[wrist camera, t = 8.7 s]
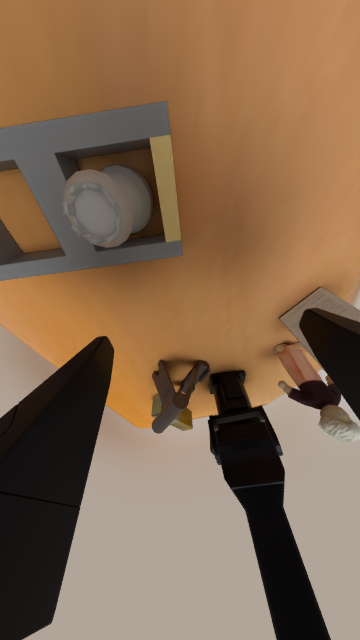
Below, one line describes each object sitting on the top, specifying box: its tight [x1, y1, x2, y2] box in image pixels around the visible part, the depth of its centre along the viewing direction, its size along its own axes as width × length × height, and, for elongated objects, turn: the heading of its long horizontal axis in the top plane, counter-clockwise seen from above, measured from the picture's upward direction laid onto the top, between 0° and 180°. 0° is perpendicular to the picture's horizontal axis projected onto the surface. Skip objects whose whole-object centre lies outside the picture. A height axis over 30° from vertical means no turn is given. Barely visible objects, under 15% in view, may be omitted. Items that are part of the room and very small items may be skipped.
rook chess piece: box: [62, 164, 154, 248], centre depth 11 cm, size 4×4×8 cm
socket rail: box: [0, 101, 183, 281], centre depth 13 cm, size 8×16×3 cm, turn 97°
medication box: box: [152, 394, 193, 431], centre depth 36 cm, size 12×3×4 cm, turn 33°
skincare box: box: [280, 287, 360, 371], centre depth 17 cm, size 6×4×12 cm
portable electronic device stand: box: [152, 360, 210, 433], centre depth 26 cm, size 9×8×8 cm
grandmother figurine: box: [274, 342, 360, 442], centre depth 22 cm, size 8×4×13 cm, turn 105°
